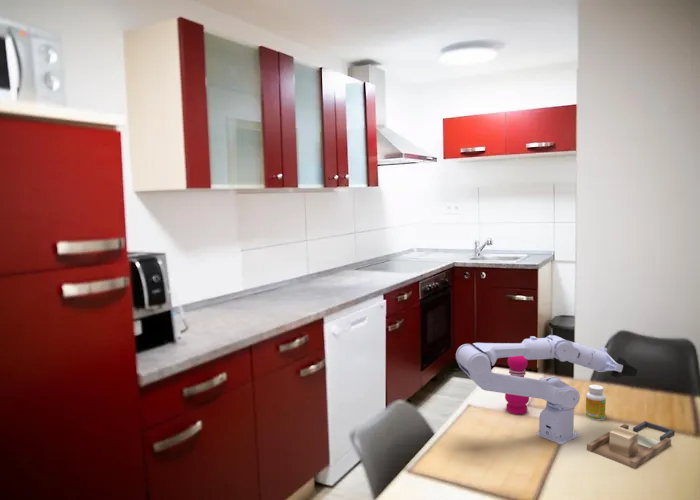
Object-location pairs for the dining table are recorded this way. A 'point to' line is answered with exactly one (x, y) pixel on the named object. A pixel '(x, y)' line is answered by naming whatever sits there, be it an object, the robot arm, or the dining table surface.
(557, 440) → the robot arm
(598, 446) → the walled channel
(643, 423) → the tray
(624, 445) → the maple block
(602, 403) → the supplement bottle
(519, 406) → the pepper mill
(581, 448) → the dining table surface
